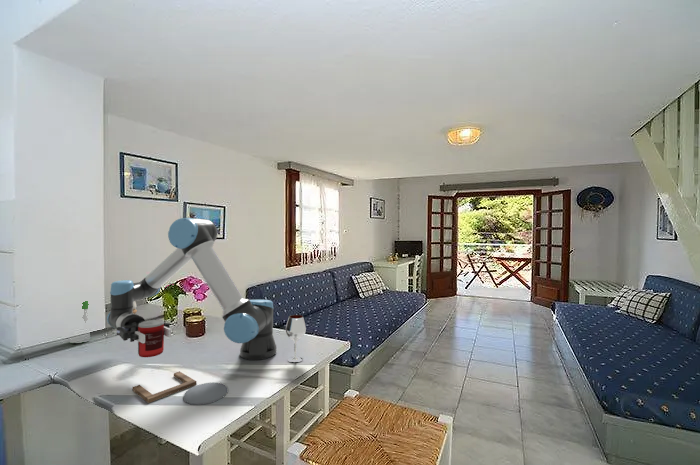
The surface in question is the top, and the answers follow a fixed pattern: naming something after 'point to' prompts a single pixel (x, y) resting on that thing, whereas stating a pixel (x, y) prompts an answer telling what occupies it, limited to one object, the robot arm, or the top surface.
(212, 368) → the top surface
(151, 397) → the walnut cradle
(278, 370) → the top surface
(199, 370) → the top surface
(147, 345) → the canned food
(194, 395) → the slate mat
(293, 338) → the wineglass
